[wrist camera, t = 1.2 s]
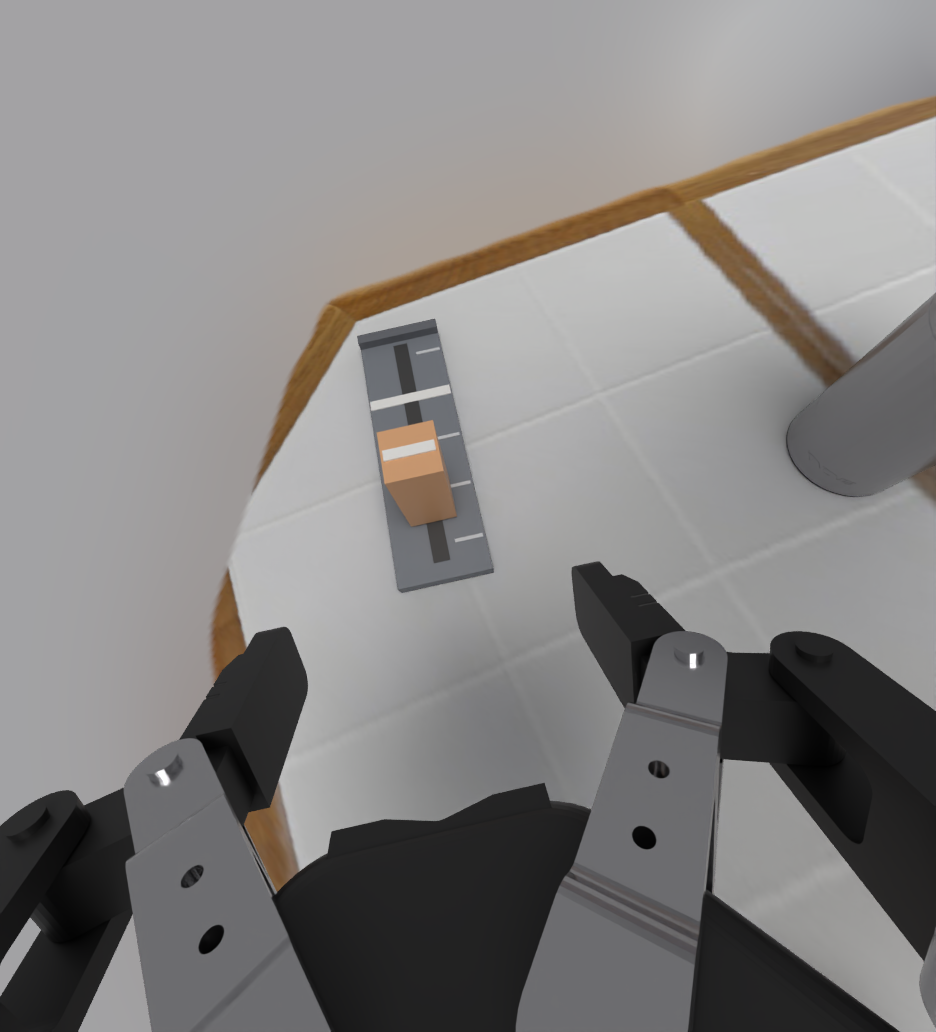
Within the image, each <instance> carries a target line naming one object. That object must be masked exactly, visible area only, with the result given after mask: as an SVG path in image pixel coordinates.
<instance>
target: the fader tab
mask: <svg viewBox="0 0 936 1032" xmlns="http://www.w3.org/2000/svg"><path fill="white" fill-rule="evenodd" d="M377 438H378V445H379V451H380V458H381V464H382V470H383V477H384V483H385V485H386V487H387V489H388V490H389V492H390V493H391V495H392V497H393V498H394V500H395V501H396V503H397V505H398V506H399V508H400V509H401V511H402V513H403V514H404V516H405V517H406V519H407V521H408V522H409V524H410V526H411V527H413V526H417V525H422V524H426V523H431V522H435V521H440V520H444V519H448V518H453V517H457V514H456V509H455V504H454V500H453V495H452V490H451V486H450V481H449V476H448V473H447V469H446V465H445V462H444V458H443V455H442V451H441V447H440V444H439V440H438V437H437V433H436V429H435V426H434V422H433V420H430V421H426V422H422V423H417V424H413V425H408V426H404V427H399V428H395V429H390V430H386V431H381V432H377Z"/></svg>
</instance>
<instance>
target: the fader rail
mask: <svg viewBox="0 0 936 1032" xmlns="http://www.w3.org/2000/svg"><path fill="white" fill-rule="evenodd" d="M357 338H358V344H359V346H360V349H361V352H362V359H363V365H364V372H365V378H366V385H367V391H368V398H369V404H370V411H371V417H372V424H373V430H374V437H375V443H376V450H377V457H378V463H379V470H380V476H381V483H382V489H383V496H384V502H385V509H386V515H387V522H388V528H389V535H390V541H391V548H392V554H393V561H394V567H395V574H396V580H397V587H398V590H399V591H400V592H401V593H403V592H408V591H412V590H417V589H421V588H426V587H430V586H435V585H439V584H444V583H448V582H453V581H457V580H462V579H466V578H470V577H475V576H479V575H484V574H488V573H493V566H492V561H491V557H490V553H489V548H488V544H487V540H486V536H485V531H484V527H483V523H482V519H481V514H480V510H479V506H478V501H477V497H476V493H475V489H474V484H473V480H472V476H471V472H470V467H469V463H468V459H467V454H466V450H465V446H464V442H463V437H462V433H461V429H460V425H459V420H458V416H457V412H456V407H455V403H454V399H453V395H452V390H451V386H450V382H449V378H448V373H447V369H446V365H445V360H444V356H443V352H442V348H441V343H440V339H439V335H438V330H437V325H436V321H435V319H431V320H427V321H422V322H418V323H413V324H409V325H405V326H400V327H396V328H391V329H387V330H382V331H378V332H373V333H369V334H364V335H360V336H357ZM430 420H433V422H434V426H435V429H436V433H437V437H438V440H439V444H440V447H441V451H442V455H443V458H444V462H445V465H446V469H447V473H448V476H449V481H450V486H451V490H452V495H453V500H454V504H455V509H456V514H457V517H453V518H448V519H444V520H440V521H435V522H431V523H426V524H422V525H417V526H413V527H411V526H410V524H409V522H408V521H407V519H406V517H405V516H404V514H403V513H402V511H401V509H400V508H399V506H398V505H397V503H396V501H395V500H394V498H393V497H392V495H391V493H390V492H389V490H388V489H387V487H386V485H385V483H384V477H383V470H382V464H381V458H380V451H379V445H378V438H377V432H381V431H386V430H390V429H395V428H399V427H404V426H408V425H413V424H417V423H422V422H426V421H430Z"/></svg>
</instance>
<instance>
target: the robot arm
mask: <svg viewBox="0 0 936 1032" xmlns="http://www.w3.org/2000/svg"><path fill="white" fill-rule="evenodd" d="M787 445H788V449H789V453H790V456H791V457H792V459H793V461H794V463H795V465H796V466H797V467H798V468H799V470H800V471H801V472H802V473H803V474H804V475H805V476H806V477H807V478H808V479H810V480H811V481H812V482H814V483H815V484H817V485H819V486H820V487H822V488H824V489H826V490H829V491H831V492H834V493H837V494H842V495H846V496H867V495H872V494H875V493H878V492H881V491H883V490H885V489H887V488H889V487H891V486H893V485H895V484H897V483H899V482H902V481H904V480H906V479H908V478H910V477H912V476H914V475H916V474H918V473H920V472H922V471H925V470H927V469H929V468H931V467H933V466H935V465H936V293H935V294H934V295H933V296H931V297H930V298H929V299H928V300H927V301H926V302H925V303H923V304H922V305H921V306H920V307H919V308H918V309H917V310H916V311H914V312H913V313H912V314H911V315H910V316H909V317H908V318H907V319H905V320H904V321H903V322H902V323H901V324H900V325H899V326H898V327H896V328H895V329H894V330H893V331H892V332H891V333H890V334H889V335H887V336H886V337H885V338H884V339H883V340H882V341H881V342H880V343H878V344H877V345H876V346H875V347H874V348H873V349H872V350H871V351H869V352H868V353H867V354H866V355H865V356H864V357H863V358H862V359H860V360H859V361H858V362H857V363H856V364H855V365H854V366H853V367H851V368H850V369H849V370H848V371H847V372H846V373H845V374H844V375H842V376H841V377H840V378H839V379H838V380H837V381H836V382H834V383H833V384H832V385H831V386H830V387H829V388H827V389H826V390H825V391H824V392H823V393H822V394H821V395H820V396H818V397H817V398H816V399H815V400H814V401H813V402H812V403H811V404H809V405H808V406H807V407H806V408H805V409H804V410H803V411H802V412H801V413H800V414H798V415H797V416H796V417H795V418H794V420H793V421H792V423H791V425H790V426H789V430H788V434H787ZM572 582H573V592H574V601H575V610H576V618H577V622H578V626H579V629H580V631H581V634H582V636H583V638H584V639H585V641H586V643H587V645H588V646H589V648H590V650H591V651H592V653H593V655H594V657H595V658H596V660H597V662H598V663H599V665H600V667H601V669H602V670H603V672H604V674H605V675H606V677H607V679H608V681H609V682H610V684H611V686H612V687H613V689H614V691H615V692H616V694H617V696H618V698H619V699H620V701H621V703H622V704H623V706H624V708H625V710H624V713H623V716H622V719H621V722H620V725H619V728H618V731H617V734H616V737H615V740H614V743H613V746H612V749H611V752H610V755H609V758H608V761H607V764H606V767H605V771H604V774H603V777H602V780H601V783H600V786H599V789H598V792H597V795H596V798H595V801H594V804H593V807H592V810H591V809H588V808H586V807H583V806H579V805H576V804H572V803H566V802H560V801H550V800H549V797H548V793H547V790H546V786H545V783H542V784H537V785H533V786H529V787H524V788H520V789H515V790H511V791H507V792H502V793H498V794H494V795H491V796H489V797H487V798H485V799H483V800H481V801H479V802H477V803H475V804H473V805H471V806H469V807H467V808H465V809H463V810H461V811H459V812H457V813H455V814H454V815H452V816H450V817H448V818H446V819H443V820H440V821H414V820H387V819H384V820H380V821H375V822H371V823H367V824H362V825H358V826H354V827H349V828H345V829H340V830H336V831H332V832H331V838H330V843H329V849H328V853H327V854H325V855H323V856H322V857H320V858H318V859H317V860H315V861H314V862H312V863H310V864H309V865H308V866H306V867H305V868H304V869H302V870H301V871H300V872H298V873H297V874H296V875H295V876H294V877H293V878H291V879H290V880H289V881H288V882H287V883H286V884H285V885H284V886H283V887H282V888H281V889H280V890H279V891H278V892H276V890H275V888H274V886H273V884H272V881H271V879H270V877H269V875H268V873H267V871H266V869H265V867H264V865H263V863H262V860H261V858H260V856H259V854H258V852H257V850H256V848H255V846H254V844H253V842H252V839H251V837H250V835H249V833H248V831H247V829H246V827H245V825H244V823H245V820H246V817H247V814H248V812H251V811H256V810H260V809H265V808H269V807H270V805H271V802H272V799H273V796H274V793H275V790H276V787H277V784H278V781H279V778H280V775H281V772H282V769H283V766H284V763H285V760H286V757H287V754H288V751H289V747H290V744H291V741H292V738H293V735H294V732H295V729H296V726H297V723H298V720H299V717H300V714H301V711H302V708H303V705H304V702H305V699H306V696H307V691H308V681H307V675H306V671H305V668H304V666H303V663H302V660H301V658H300V655H299V653H298V650H297V647H296V645H295V642H294V639H293V637H292V634H291V632H290V630H289V629H288V628H287V627H281V628H276V629H272V630H267V631H262V632H258V633H256V634H255V635H254V637H253V639H252V640H251V642H250V644H249V645H248V647H247V649H246V650H245V652H244V654H241V655H238V656H237V657H236V658H235V659H234V660H233V661H232V662H231V663H230V664H228V665H227V666H226V667H225V668H224V669H223V670H222V672H221V674H220V675H219V677H218V678H217V680H216V682H215V683H214V687H212V688H211V690H210V691H209V693H208V694H207V696H206V700H204V701H203V702H202V704H201V706H200V708H199V709H198V711H197V712H196V714H195V715H194V717H193V718H192V720H191V722H190V723H189V725H188V726H187V728H186V730H185V732H184V733H183V735H182V736H181V738H180V739H179V740H177V741H174V742H171V743H169V744H167V745H165V746H163V747H161V748H159V749H158V750H157V751H155V752H153V753H152V754H151V755H149V756H148V757H147V758H145V759H144V760H143V761H142V762H141V763H140V764H139V765H138V766H137V767H136V768H135V769H134V770H133V771H132V773H131V774H130V775H129V777H128V778H127V781H126V783H125V785H124V788H122V789H120V790H118V791H116V792H113V793H111V794H109V795H106V796H104V797H102V798H100V799H98V800H95V801H93V802H91V803H89V804H86V805H83V804H82V802H81V801H80V799H79V798H78V796H77V795H76V794H75V793H74V792H72V791H69V790H66V791H58V792H55V793H51V794H49V795H46V796H44V797H42V798H40V799H38V800H36V801H34V802H32V803H31V804H29V805H28V806H26V807H24V808H23V809H21V810H20V811H18V812H17V813H15V814H14V815H13V816H11V817H10V818H9V819H8V820H7V821H5V822H4V823H3V824H2V825H1V826H0V964H1V962H2V960H3V958H4V956H5V955H6V953H7V951H8V950H9V948H10V947H11V945H12V944H13V942H14V941H15V939H16V938H17V936H18V935H19V933H20V932H21V930H22V928H23V927H24V925H25V924H26V922H27V921H28V919H29V918H31V919H32V920H33V921H34V922H35V923H36V924H37V926H38V927H39V928H40V929H41V931H40V933H39V935H38V936H37V938H36V939H35V941H34V943H33V944H32V946H31V948H30V949H29V951H28V952H27V954H26V956H25V957H24V959H23V961H22V962H21V964H20V965H19V967H18V969H17V970H16V972H15V974H14V975H13V977H12V979H11V980H10V982H9V983H8V985H7V987H6V988H5V990H4V992H3V993H2V995H1V996H0V1032H78V1030H79V1028H80V1026H81V1024H82V1022H83V1019H84V1017H85V1015H86V1013H87V1011H88V1009H89V1006H90V1004H91V1002H92V1000H93V998H94V996H95V994H96V992H97V989H98V987H99V985H100V983H101V981H102V979H103V977H104V974H105V972H106V970H107V968H108V966H109V964H110V961H111V959H112V957H113V955H114V952H115V950H116V948H117V947H118V944H119V942H120V940H121V938H122V936H123V934H124V931H125V929H126V927H127V925H128V923H129V921H130V919H131V916H132V914H133V918H134V924H135V930H136V936H137V943H138V949H139V955H140V961H141V967H142V974H143V979H144V986H145V992H146V998H147V1005H148V1010H149V1017H150V1023H151V1029H152V1032H899V1031H898V1030H897V1029H896V1028H894V1027H893V1026H891V1025H890V1024H889V1023H887V1022H886V1021H885V1020H883V1019H882V1018H881V1017H879V1016H878V1015H877V1014H875V1013H874V1012H872V1011H871V1010H870V1009H868V1008H867V1007H866V1006H864V1005H863V1004H862V1003H860V1002H859V1001H857V1000H856V999H855V998H853V997H852V996H851V995H849V994H848V993H847V992H845V991H844V990H843V989H841V988H840V987H838V986H837V985H836V984H834V983H833V982H832V981H830V980H829V979H828V978H826V977H825V976H824V975H822V974H821V973H819V972H818V971H817V970H815V969H814V968H813V967H811V966H810V965H809V964H807V963H806V962H805V961H803V960H802V959H800V958H799V957H798V956H796V955H795V954H794V953H792V952H791V951H790V950H788V949H787V948H785V947H784V946H783V945H781V944H780V943H779V942H777V941H776V940H775V939H773V938H772V937H771V936H769V935H768V934H766V933H765V932H764V931H762V930H761V929H760V928H758V927H757V926H756V925H754V924H753V923H752V922H750V921H749V920H747V919H746V918H745V917H743V916H742V915H741V914H739V913H738V912H737V911H735V910H734V909H732V908H731V907H730V906H728V905H727V904H726V903H724V902H723V901H722V900H720V899H719V898H718V897H716V896H715V895H714V882H715V867H716V850H717V835H718V823H719V811H720V799H721V787H722V774H723V762H724V759H729V760H743V761H756V762H769V763H770V765H771V766H772V767H773V768H774V770H775V771H776V772H777V774H778V775H779V776H780V777H781V779H782V780H783V781H784V782H785V784H786V785H787V786H788V788H789V789H790V790H791V791H792V793H793V794H794V795H795V797H796V798H797V799H798V800H799V802H800V803H801V804H802V806H803V807H804V808H805V809H806V811H807V812H808V813H809V815H810V816H811V817H812V818H813V820H814V821H815V822H816V823H817V825H818V826H819V827H820V829H821V830H822V831H823V832H824V834H825V835H826V836H827V838H828V839H829V840H830V841H831V843H832V844H833V845H834V847H835V848H836V849H837V850H838V852H839V853H840V854H841V855H842V857H843V858H844V859H845V861H846V862H847V863H848V864H849V866H850V867H851V868H852V870H853V871H854V872H855V873H856V875H857V876H858V877H859V879H860V880H861V881H862V882H863V884H864V885H865V886H866V888H867V889H868V890H869V891H870V893H871V894H872V895H873V896H874V898H875V899H876V900H877V902H878V903H879V904H880V905H881V907H882V908H883V909H884V911H885V912H886V913H887V914H888V916H889V917H890V918H891V920H892V921H893V922H894V923H895V925H896V926H897V927H898V928H899V930H900V931H901V932H902V934H903V935H904V936H905V937H906V939H907V940H908V941H909V943H910V944H911V945H912V946H913V948H914V949H915V950H916V952H917V953H918V954H919V955H920V957H921V958H922V959H923V960H924V964H923V967H922V970H921V973H920V981H919V986H920V992H921V997H922V1000H923V1003H924V1006H925V1008H926V1010H927V1013H928V1015H929V1017H930V1019H931V1021H932V1022H933V1024H934V1026H935V1027H936V711H935V710H933V709H932V708H931V707H929V706H928V705H927V704H925V703H924V702H922V701H921V700H920V699H918V698H917V697H916V696H914V695H913V694H912V693H910V692H909V691H908V690H906V689H905V688H904V687H902V686H901V685H899V684H898V683H897V682H895V681H894V680H893V679H891V678H890V677H889V676H887V675H886V674H885V673H883V672H882V671H880V670H879V669H878V668H876V667H875V666H874V665H872V664H871V663H870V662H868V661H867V660H866V659H864V658H863V657H862V656H860V655H859V654H857V653H856V652H855V651H853V650H852V649H851V648H849V647H848V646H846V645H845V644H843V643H841V642H839V641H838V640H835V639H833V638H830V637H828V636H824V635H821V634H817V633H811V632H802V631H794V632H786V633H782V634H780V635H778V636H776V637H775V638H774V639H773V640H772V641H771V644H770V653H731V652H726V650H725V649H724V647H723V646H722V645H721V644H720V643H718V642H717V641H716V640H714V639H712V638H710V637H708V636H706V635H703V634H700V633H695V632H688V631H685V630H684V629H683V628H682V627H681V626H680V625H679V624H678V623H677V622H676V621H675V619H674V618H673V617H672V616H671V615H670V614H669V613H668V612H667V611H666V610H665V609H664V608H663V607H662V606H661V605H660V604H659V603H657V602H656V600H655V599H654V598H653V597H652V596H651V595H650V594H648V592H647V591H646V590H645V589H644V588H643V586H642V585H641V584H640V583H639V582H637V581H635V580H633V579H631V578H629V577H627V576H624V575H622V574H621V575H617V576H612V575H611V574H610V573H609V572H608V570H607V569H606V568H605V567H604V566H603V565H602V564H601V563H600V562H599V561H597V562H593V563H588V564H583V565H578V566H574V567H572Z"/></svg>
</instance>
